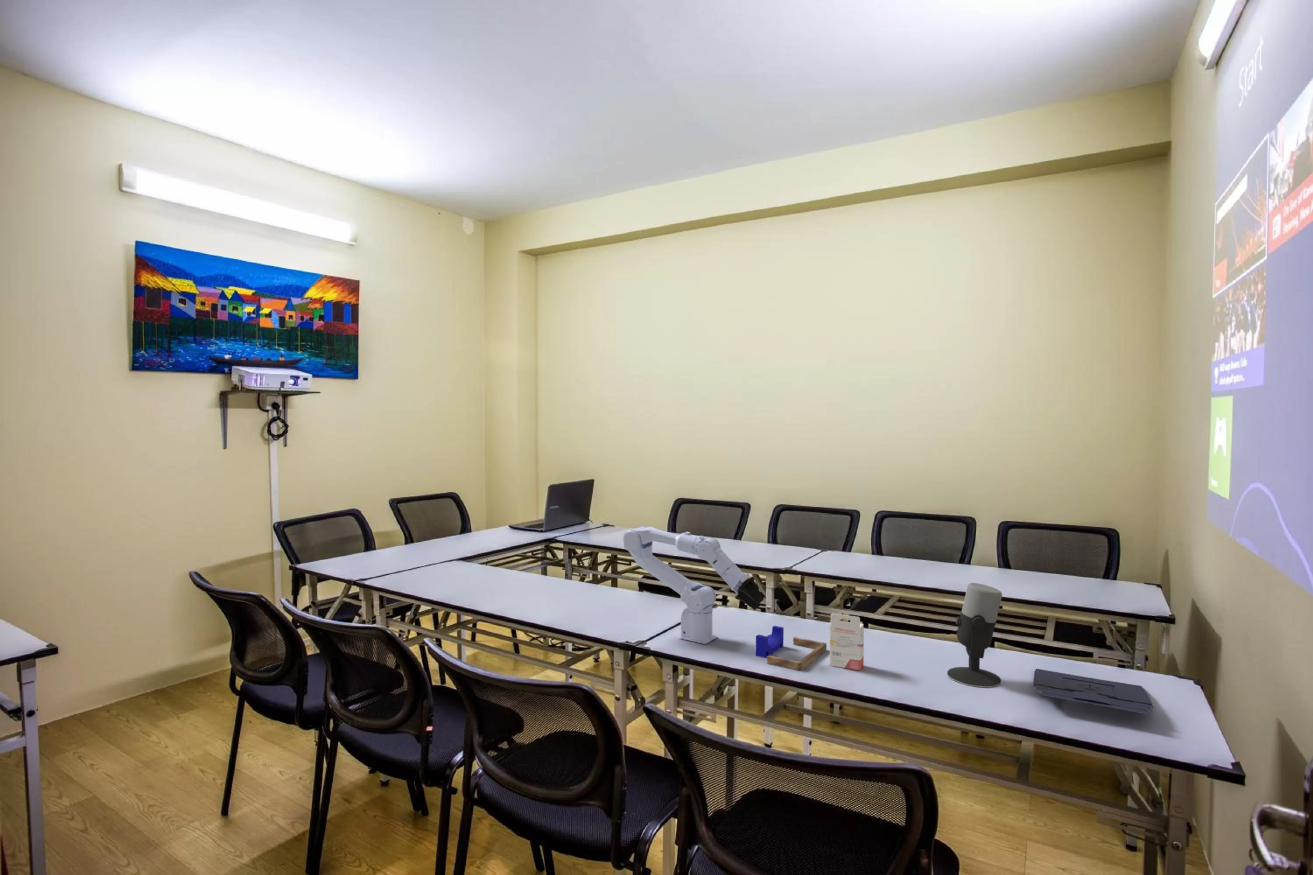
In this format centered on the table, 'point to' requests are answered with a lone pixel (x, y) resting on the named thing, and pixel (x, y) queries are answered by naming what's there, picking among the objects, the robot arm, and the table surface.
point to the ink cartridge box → (846, 642)
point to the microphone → (977, 634)
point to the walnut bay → (800, 665)
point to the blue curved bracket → (769, 642)
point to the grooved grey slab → (1092, 691)
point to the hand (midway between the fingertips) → (759, 604)
